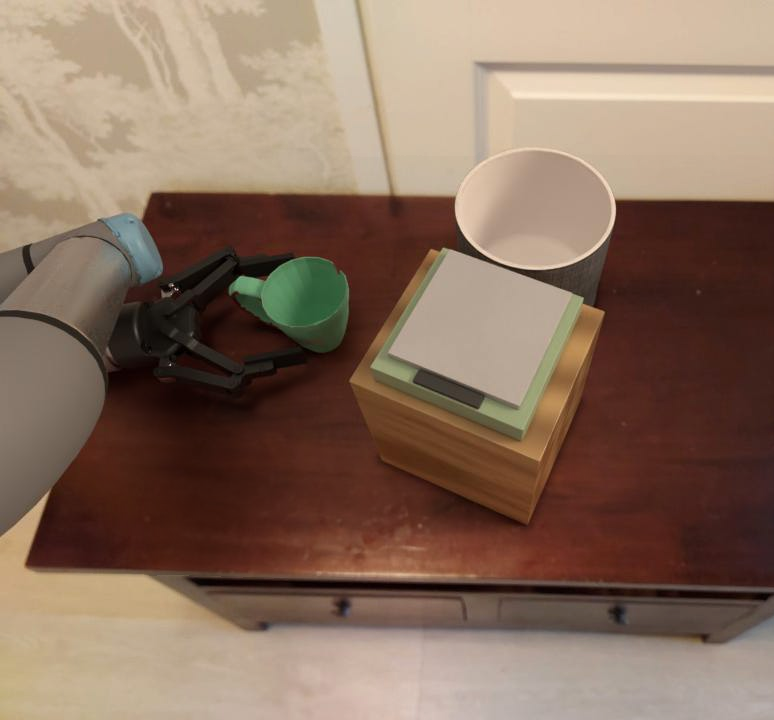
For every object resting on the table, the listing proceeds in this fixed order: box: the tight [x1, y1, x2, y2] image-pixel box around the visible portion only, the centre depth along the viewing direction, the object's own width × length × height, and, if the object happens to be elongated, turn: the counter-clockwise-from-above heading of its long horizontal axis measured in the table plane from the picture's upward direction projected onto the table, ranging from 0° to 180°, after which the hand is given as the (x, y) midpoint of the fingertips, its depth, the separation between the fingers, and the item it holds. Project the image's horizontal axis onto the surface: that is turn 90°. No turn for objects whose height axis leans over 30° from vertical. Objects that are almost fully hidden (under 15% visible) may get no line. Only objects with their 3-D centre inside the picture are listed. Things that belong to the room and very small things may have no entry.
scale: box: [370, 247, 584, 441], centre depth 57 cm, size 14×14×3 cm
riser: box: [348, 248, 606, 526], centre depth 67 cm, size 16×18×20 cm
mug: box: [228, 256, 350, 354], centre depth 79 cm, size 15×10×10 cm
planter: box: [454, 146, 617, 308], centre depth 79 cm, size 18×18×16 cm
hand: (300, 306), depth 78 cm, fingers open, 13 cm apart
